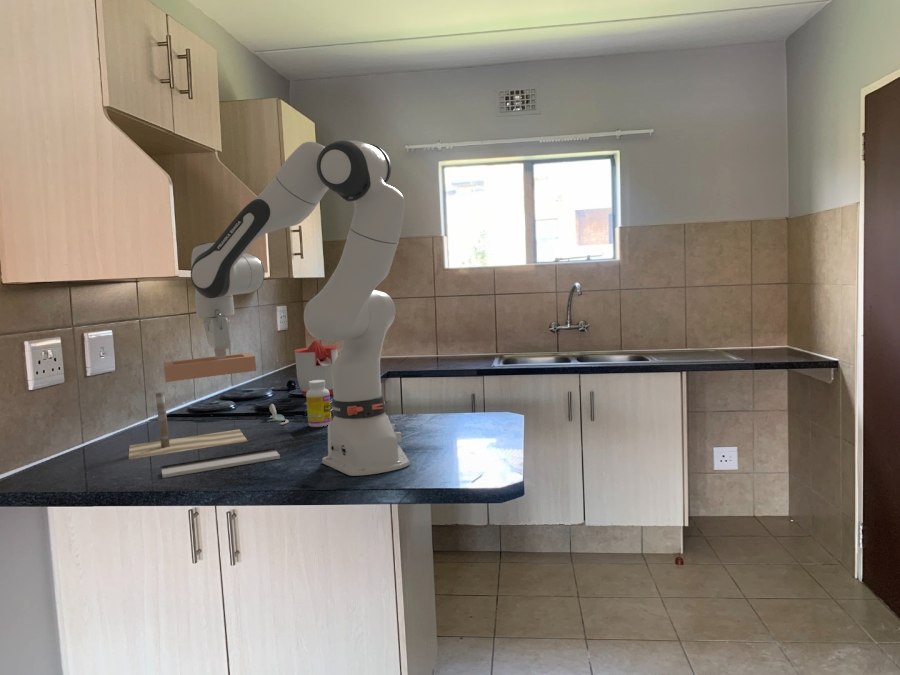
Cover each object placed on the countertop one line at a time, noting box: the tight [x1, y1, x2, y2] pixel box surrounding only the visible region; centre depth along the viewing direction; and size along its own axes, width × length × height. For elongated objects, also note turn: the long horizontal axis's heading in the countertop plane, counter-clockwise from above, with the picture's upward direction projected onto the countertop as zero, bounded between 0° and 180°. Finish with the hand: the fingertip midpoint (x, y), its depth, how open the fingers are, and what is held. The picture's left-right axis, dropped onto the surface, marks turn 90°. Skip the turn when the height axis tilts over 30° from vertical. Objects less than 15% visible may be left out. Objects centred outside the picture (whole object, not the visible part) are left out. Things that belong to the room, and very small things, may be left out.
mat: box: [160, 447, 281, 479], centre depth 164 cm, size 14×26×1 cm, turn 114°
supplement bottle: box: [305, 380, 332, 428], centre depth 196 cm, size 7×7×13 cm
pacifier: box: [266, 403, 290, 426], centre depth 202 cm, size 7×6×6 cm
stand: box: [128, 391, 248, 460], centre depth 177 cm, size 16×28×16 cm, turn 114°
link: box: [162, 352, 257, 383], centre depth 163 cm, size 10×20×4 cm, turn 114°
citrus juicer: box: [293, 339, 339, 398], centre depth 245 cm, size 16×17×20 cm
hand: (221, 365), depth 168 cm, fingers closed on link, 2 cm apart
